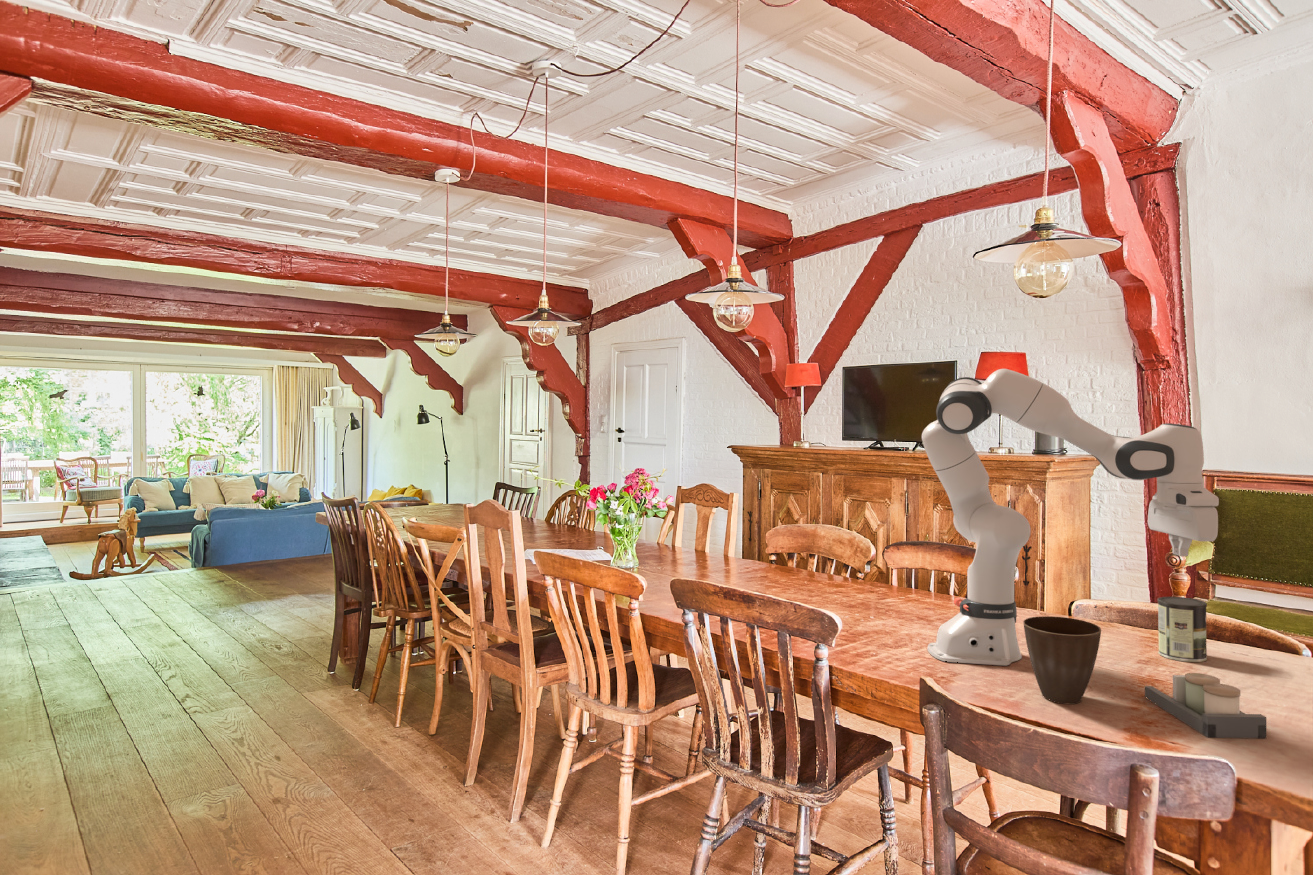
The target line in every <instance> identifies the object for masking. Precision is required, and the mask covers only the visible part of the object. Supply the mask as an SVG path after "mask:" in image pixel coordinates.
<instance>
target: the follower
mask: <svg viewBox="0 0 1313 875" xmlns="http://www.w3.org/2000/svg"><path fill="white" fill-rule="evenodd" d="M1172 698H1173V699H1174V700H1176V701H1178V702H1179V703H1181V704H1183V705H1184V706H1186V680H1185V674H1172Z"/></svg>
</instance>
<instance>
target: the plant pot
mask: <svg viewBox="0 0 1313 875" xmlns="http://www.w3.org/2000/svg"><path fill="white" fill-rule="evenodd" d="M1022 621H1023V622H1022V623H1023V629H1024V635H1025V636H1024V637H1025V641H1026V642H1025V643H1026V647H1027V651H1028V652H1027V653H1028V656H1029V659H1030V664H1031V667H1032V670H1033V674H1034V677H1035V680H1036V682H1037V684H1038V688H1039V690H1040V693H1041V695H1042V697H1043V696H1044V697H1046V698H1047V699H1046V698H1045V699H1046V700H1048V699H1050V700H1052V701H1051V702H1053V701H1055V702H1054V703H1057V702H1059V703H1058V704H1063V703H1075V704H1079V703H1080V702H1081V701H1082V699H1083V697H1084V695H1085V692H1086V690H1087V687H1088V686H1089V683H1090V681H1091V680H1090V679H1091V678H1092V675H1093V672H1094V668H1095V664H1096V662H1097V657H1098V651H1099V647H1100V643H1101V642H1100V641H1101V634H1102V628H1101V627H1100V626H1099V625H1097V624H1095V623H1093V622H1089V621H1086V620H1082V619H1078V618H1071V617H1065V616H1050V615H1048V616H1047V615H1045V616H1043V615H1042V616H1032V617H1028V618H1026V619H1024V620H1022ZM1044 697H1043V698H1044ZM1050 700H1049V701H1050ZM1078 702H1079V703H1078Z"/></svg>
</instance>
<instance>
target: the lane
mask: <svg viewBox="0 0 1313 875" xmlns="http://www.w3.org/2000/svg"><path fill="white" fill-rule="evenodd" d="M1145 697H1147V698H1148V699H1149V700H1148V699H1147V700H1148V701H1150V700H1151V701H1152V702H1151V701H1150V702H1151V703H1153V704H1154V703H1156V704H1157V705H1158V707H1159V708H1161V709H1162V710H1164V711H1165V712H1167V713H1168V714H1170V715H1172V716H1174V717H1175V718H1176V719H1178V720H1179V721H1181V722H1182V723H1184V724H1186V725H1188V726H1189V727H1191V728H1192V729H1193V730H1195V731H1196V732H1198V733H1200V734H1202V735H1203V736H1205V737H1206V738H1217V739H1219V738H1222V739H1225V738H1226V739H1228V738H1229V739H1267V716H1265V715H1263V714H1261V713H1257V714H1256V713H1245V712H1244V711H1241V710H1240V714H1205V713H1203V716H1201V715H1199V714H1198V713H1196V712H1194V711H1193V710H1191V709H1189V708H1188V707H1186V706H1184V705H1183V704H1181V703H1179V702H1178V701H1176V700H1174V699H1173V697H1171V696H1169V695H1167V694H1166V693H1164V692H1163V691H1161V690H1159V689H1158V688H1156V687H1154V686H1153V685H1144V698H1145ZM1156 704H1155V705H1156ZM1157 705H1156V706H1157Z"/></svg>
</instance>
